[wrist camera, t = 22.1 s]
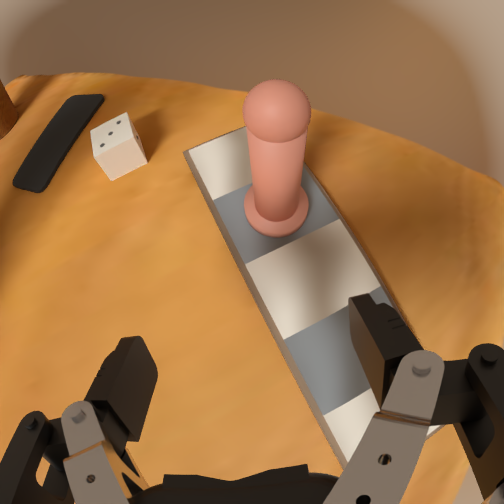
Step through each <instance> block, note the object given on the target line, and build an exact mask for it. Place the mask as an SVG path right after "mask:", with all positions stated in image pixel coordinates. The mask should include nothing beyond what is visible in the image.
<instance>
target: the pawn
mask: <svg viewBox="0 0 504 504" xmlns="http://www.w3.org/2000/svg"><path fill="white" fill-rule="evenodd" d="M243 118H244V122H245V124H246V129H247V138H248V147H249V156H250V165H251V174H252V184H253V185H252V186H251V187H250V188H249V190H248V191H247V193H246V195H245V199H244V209H245V215H246V219H247V221H248V223H249V224H250V226H251V227H252V228H253V229H254V230H255V231H257V232H258V233H260V234H262V235H264V236H268V237H273V238H280V237H285V236H289V235H291V234H293V233H295V232H296V231H297V230H299V229H300V228H301V227H302V225H303V224H304V222H305V220H306V217H307V212H308V207H309V202H308V197H307V194H306V192H305V191H304V189H303V188H302V187H301V178H302V170H303V162H304V154H305V146H306V138H307V129H308V125H309V122H310V118H311V106H310V103H309V100H308V98H307V96H306V94H305V93H304V92H303V91H302V90H301V89H300V88H299V87H298V86H297V85H295V84H293V83H291V82H289V81H286V80H281V79H272V80H267V81H264V82H261V83H259V84H258V85H256V86H255V87H254V88H253V89H252V90H251V91H250V92H249V93H248V95H247V96H246V98H245V101H244V104H243Z"/></svg>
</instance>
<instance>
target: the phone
mask: <svg viewBox="0 0 504 504" xmlns="http://www.w3.org/2000/svg"><path fill="white" fill-rule="evenodd" d="M103 102H104V97H103V95H101V94H90V95H75V96H72V97H70V98H69V99H67V100H66V102H65V103H64V104H63V105H62V107H61V108H60V109H59V110H58V112H57V113H56V114H55V116H54V117H53V118H52V120H51V121H50V123H49V124H48V125H47V127H46V128H45V130H44V131H43V132H42V134H41V135H40V137H39V138H38V140H37V141H36V143H35V144H34V146H33V147H32V149H31V150H30V152H29V154H28V155H27V157H26V158H25V160H24V162H23V163H22V165H21V167H20V168H19V170H18V172H17V173H16V175H15V177H14V179H13V185H14V186H15V187H17V188H20V189H24V190H28V191H31V192H35V193H41V192H43V191H44V190H45V189H46V188H47V186H48V185H49V183H50V181H51V179H52V178H53V176H54V174H55V173H56V171H57V169H58V168H59V166H60V164H61V163H62V161H63V160H64V158H65V156H66V155H67V153H68V152H69V150H70V149H71V147H72V146H73V144H74V142H75V141H76V140H77V138H78V137H79V135H80V134H81V132H82V131H83V129H84V128H85V127H86V125H87V124H88V122H89V121H90V120H91V118H92V117H93V115H94V114H95V113H96V111H97V110H98V109H99V108H100V106H101V105H102V104H103Z"/></svg>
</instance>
